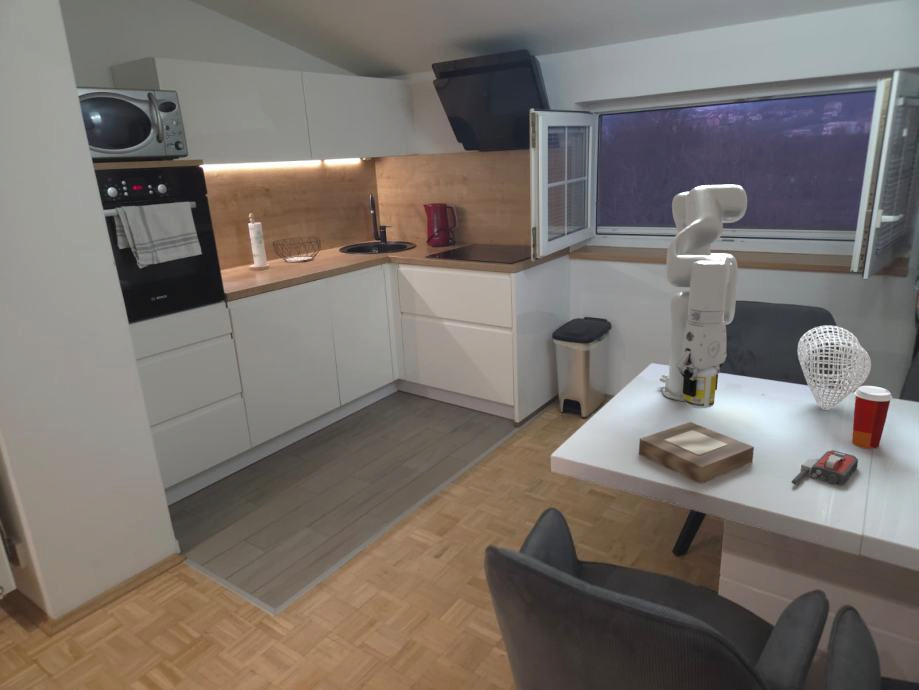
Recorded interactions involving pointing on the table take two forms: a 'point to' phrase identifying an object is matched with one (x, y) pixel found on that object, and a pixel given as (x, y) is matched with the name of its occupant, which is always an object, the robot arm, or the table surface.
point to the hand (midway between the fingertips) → (699, 391)
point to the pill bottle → (703, 388)
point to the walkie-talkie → (829, 468)
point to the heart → (858, 363)
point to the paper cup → (870, 415)
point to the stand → (696, 451)
